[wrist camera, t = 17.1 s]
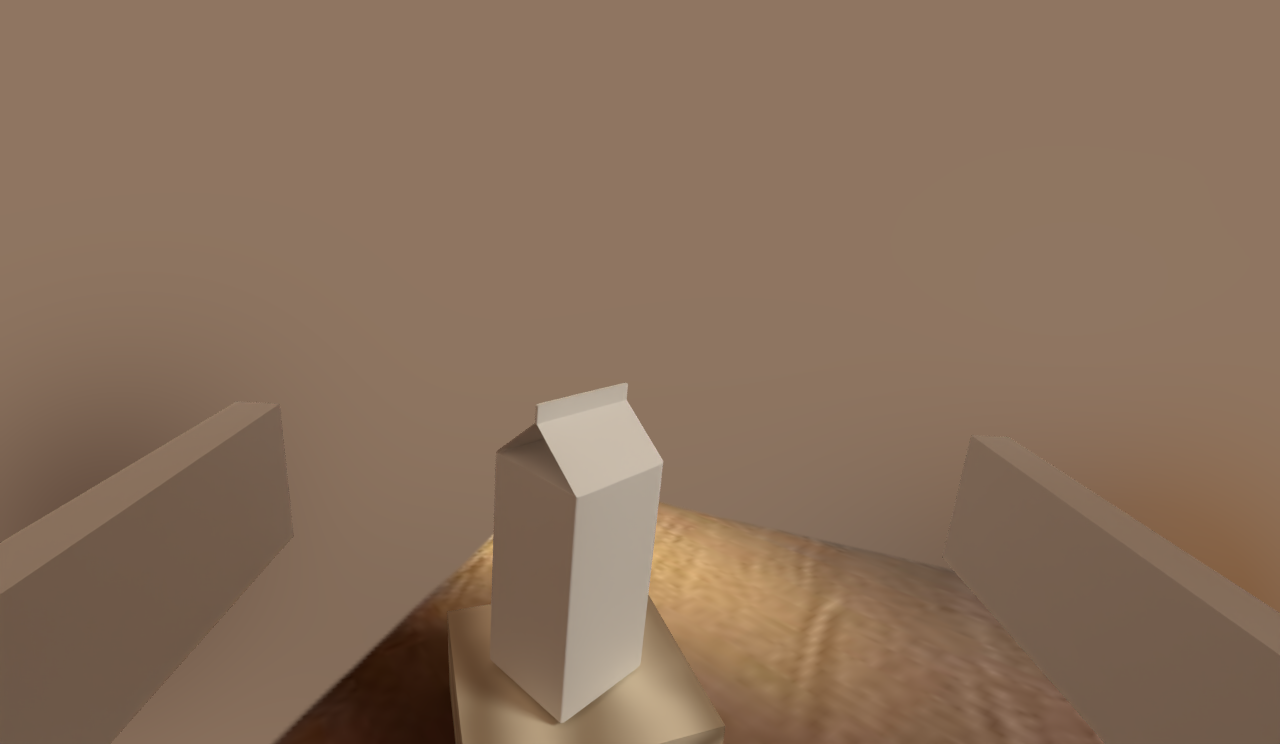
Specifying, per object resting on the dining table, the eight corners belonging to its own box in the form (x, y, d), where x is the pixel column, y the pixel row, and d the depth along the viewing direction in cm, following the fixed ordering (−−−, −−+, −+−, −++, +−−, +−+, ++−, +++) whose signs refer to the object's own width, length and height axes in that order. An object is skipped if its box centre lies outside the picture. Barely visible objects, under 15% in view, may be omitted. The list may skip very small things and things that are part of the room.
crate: (633, 650, 53) (639, 579, 51) (713, 813, 40) (725, 725, 38) (449, 688, 48) (447, 611, 46) (470, 891, 35) (468, 794, 33)
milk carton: (641, 667, 42) (671, 399, 37) (560, 727, 37) (582, 425, 31) (569, 614, 46) (587, 368, 41) (488, 662, 41) (496, 387, 36)
